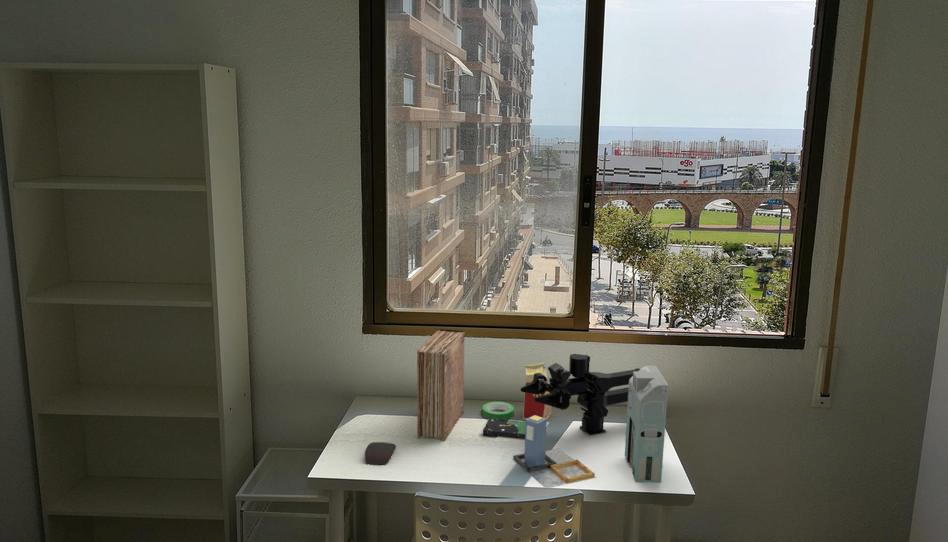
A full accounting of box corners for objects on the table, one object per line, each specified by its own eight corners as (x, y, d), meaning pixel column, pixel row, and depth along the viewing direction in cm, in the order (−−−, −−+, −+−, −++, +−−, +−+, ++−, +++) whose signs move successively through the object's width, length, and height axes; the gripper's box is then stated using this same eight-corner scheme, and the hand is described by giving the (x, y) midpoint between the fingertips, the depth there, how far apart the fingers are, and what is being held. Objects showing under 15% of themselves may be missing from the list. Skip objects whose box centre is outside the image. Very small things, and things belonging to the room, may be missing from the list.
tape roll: (509, 422, 268) (509, 415, 267) (478, 418, 271) (478, 411, 270) (517, 410, 278) (517, 403, 278) (487, 406, 281) (487, 400, 281)
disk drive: (482, 438, 256) (527, 442, 253) (482, 430, 256) (527, 434, 253) (488, 425, 266) (531, 429, 263) (488, 417, 266) (531, 421, 263)
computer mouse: (362, 465, 236) (362, 452, 235) (373, 445, 249) (373, 434, 248) (388, 467, 235) (388, 454, 234) (398, 447, 248) (398, 435, 247)
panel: (559, 449, 247) (559, 445, 247) (596, 478, 228) (596, 474, 228) (511, 459, 240) (511, 454, 240) (545, 490, 221) (545, 485, 221)
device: (624, 457, 243) (629, 365, 236) (649, 457, 243) (655, 365, 236) (634, 482, 227) (640, 384, 220) (661, 482, 227) (668, 385, 220)
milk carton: (551, 413, 276) (553, 359, 271) (544, 423, 267) (546, 367, 263) (526, 409, 279) (527, 356, 274) (519, 419, 270) (520, 364, 266)
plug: (533, 457, 240) (534, 413, 237) (545, 462, 237) (546, 417, 234) (522, 463, 236) (523, 419, 233) (534, 468, 233) (535, 423, 230)
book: (444, 441, 252) (444, 353, 245) (416, 438, 254) (416, 350, 247) (463, 412, 276) (464, 330, 269) (438, 409, 278) (439, 328, 271)
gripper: (555, 355, 261) (514, 361, 254) (586, 372, 244) (543, 380, 238) (554, 386, 263) (513, 393, 257) (585, 406, 247) (542, 414, 240)
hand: (527, 394), depth 248 cm, fingers open, 9 cm apart
